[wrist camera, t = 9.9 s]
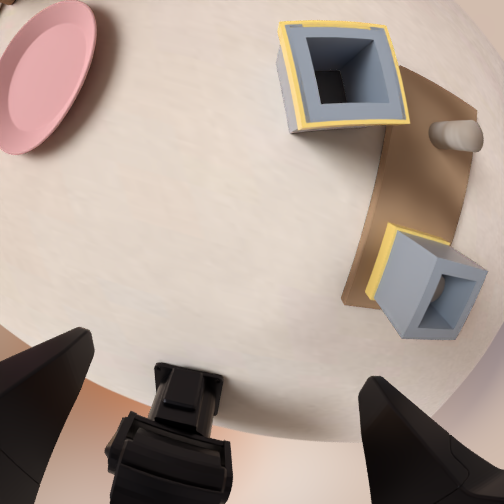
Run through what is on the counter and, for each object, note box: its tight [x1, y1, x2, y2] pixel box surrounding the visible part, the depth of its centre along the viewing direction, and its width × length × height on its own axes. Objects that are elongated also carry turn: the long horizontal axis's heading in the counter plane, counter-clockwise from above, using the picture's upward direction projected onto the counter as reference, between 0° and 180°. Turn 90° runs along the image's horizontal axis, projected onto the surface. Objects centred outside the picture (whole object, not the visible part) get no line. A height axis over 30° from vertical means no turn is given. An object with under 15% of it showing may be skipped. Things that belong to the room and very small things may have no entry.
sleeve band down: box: [365, 222, 488, 340], centre depth 15 cm, size 5×5×6 cm
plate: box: [0, 0, 97, 155], centre depth 13 cm, size 14×14×2 cm
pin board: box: [341, 65, 483, 309], centre depth 15 cm, size 18×8×5 cm, turn 170°
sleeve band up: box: [276, 20, 410, 133], centre depth 12 cm, size 5×5×6 cm
